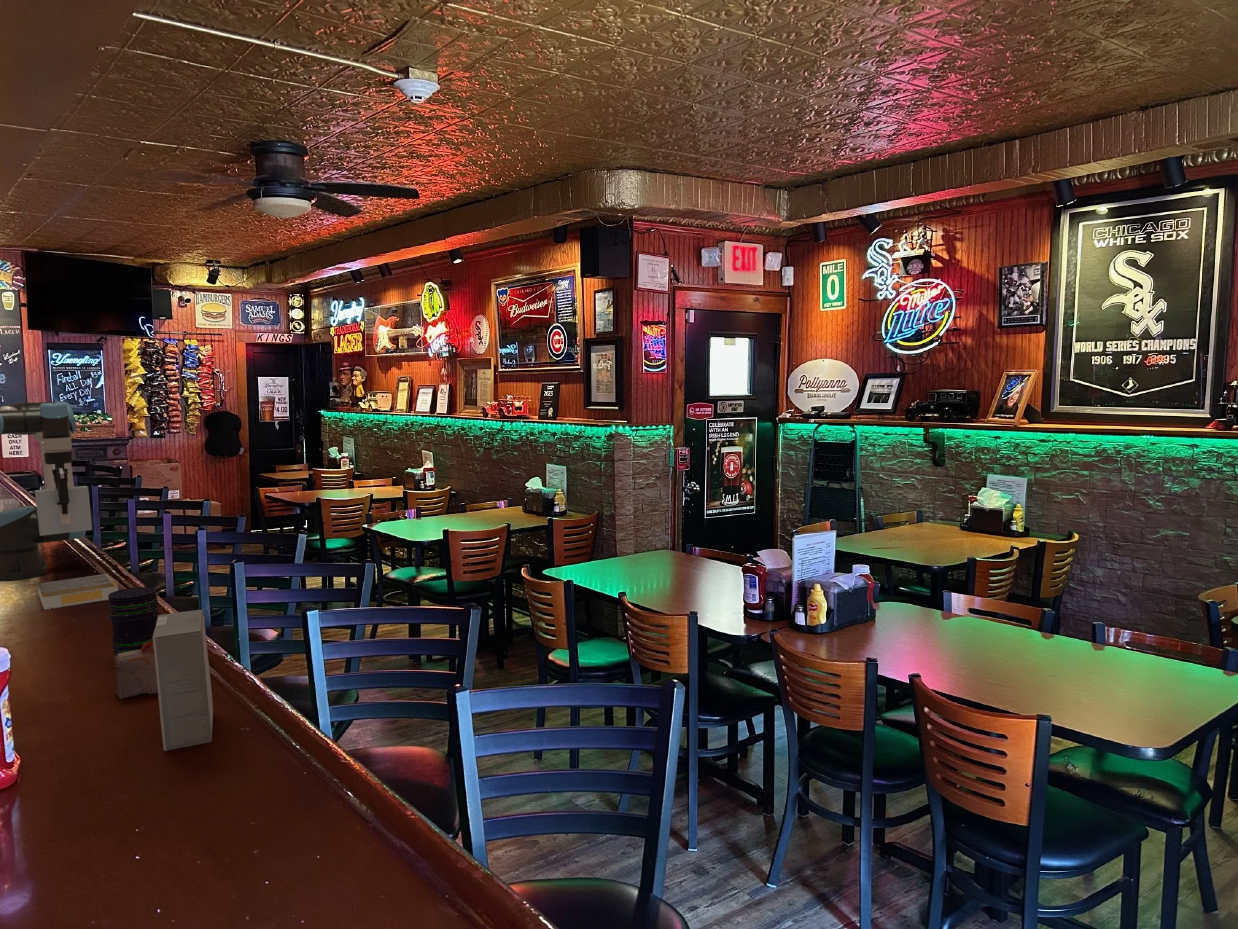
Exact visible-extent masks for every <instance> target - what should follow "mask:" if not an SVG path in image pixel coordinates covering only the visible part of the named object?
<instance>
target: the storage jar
mask: <svg viewBox="0 0 1238 929" xmlns="http://www.w3.org/2000/svg"><path fill="white" fill-rule="evenodd" d="M157 591H158V590H157V588H156V587H151V586H140V587H132V588H131V587H130V588H124V589H120V590H119V589H118V591H115V592H112V593H110V594H109V595H108V599H109V600H108V612H109V619H110V620H111V626H112V636H111V642H112V643H111V648H112V650H113V651H112V652H113V655H114V656H113V658H114V657H115V656H116V655H118V654H119V653H124V652H130V651H135V650H140V649H141V648H142V647H141V645H143V644H144V643H148V642H150V641H151V642H153V635H154V631H155V628H156V622H157V619H158V614H159V609H160V608H159V600H158V595H157ZM114 659H115V658H114Z"/></svg>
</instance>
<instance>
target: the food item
mask: <svg viewBox="0 0 1238 929" xmlns="http://www.w3.org/2000/svg"><path fill="white" fill-rule="evenodd" d="M141 647H142V648H141V649H140V650H135V651H130V652H124V653H119V654H118V655H116V656H115V655H114V656H115V657H114V656H113V658H112V660H113V664H114V677H115V679H114V683H115V684H114V686H115V694H116V695H117V697H118V699H119V700H124V699H127V698H132V697H137V695H138V696H141V695H140V694H142V695H145V694H150V695H153V693H154V695H156V694H158V686H157V676H156V666H155V656H154V646H153V642H151V641H150V642H148V643H144V644H143V645H141ZM114 658H115V659H114ZM155 693H156V694H155Z"/></svg>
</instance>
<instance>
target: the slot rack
mask: <svg viewBox="0 0 1238 929" xmlns="http://www.w3.org/2000/svg"><path fill="white" fill-rule="evenodd" d="M115 591H119V585H118V584H117V583H116V582H115V581H114V580H113V579H112V578H111V576H110V575H109V573H102V574H96V575H89V576H83V577H81V576H80V577H75V578H65V579H59V580H53V581H47V582H46V581H45V582H40V583H37V592H38V597H39V599H40V603H41V605H42V608H43V610H50V609H51V608H52V609H59V608H64V607H70V606H78V605H83V604H90V603H95V602H103V601H109V599H108V595H109V594H110V593H112V592H115ZM52 609H51V610H52Z"/></svg>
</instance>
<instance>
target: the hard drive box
mask: <svg viewBox="0 0 1238 929" xmlns="http://www.w3.org/2000/svg"><path fill="white" fill-rule="evenodd" d="M157 616H158V619H157V622H156V628H155V631H154V635H153V646H154V656H155V666H156V676H157V686H158V693H157V694H158V704H159V706H158V707H159V716H160V728H161V736H162V745H163V746H162V748H163V751H165V752H168V751H172V750H176V749H182V748H187V747H193V746H198V745H203V744H208V743H212V738H213V719H214V704H213V693H212V684H211V683H212V682H211V672H210V663H209V654H208V645H207V644H208V642H207V635H206V634H207V633H206V623H205V622H206V621H205V612H204V610H203V609H196V610H187V611H179V612H173V613H165V614H159V615H158V614H157Z"/></svg>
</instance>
